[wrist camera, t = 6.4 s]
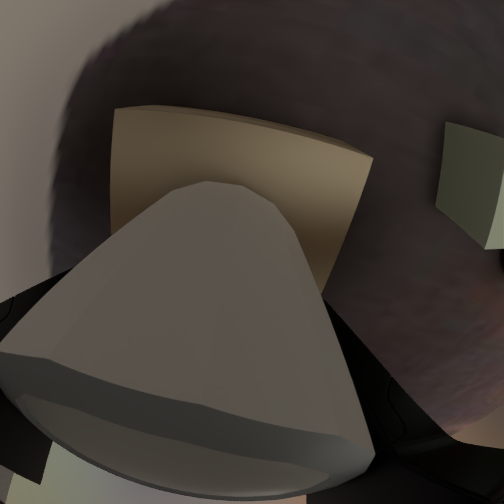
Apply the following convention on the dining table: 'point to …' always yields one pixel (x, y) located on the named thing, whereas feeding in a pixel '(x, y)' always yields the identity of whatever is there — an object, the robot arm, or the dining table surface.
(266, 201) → the shot glass
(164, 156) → the maple block
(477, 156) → the sage cube
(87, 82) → the dining table surface
